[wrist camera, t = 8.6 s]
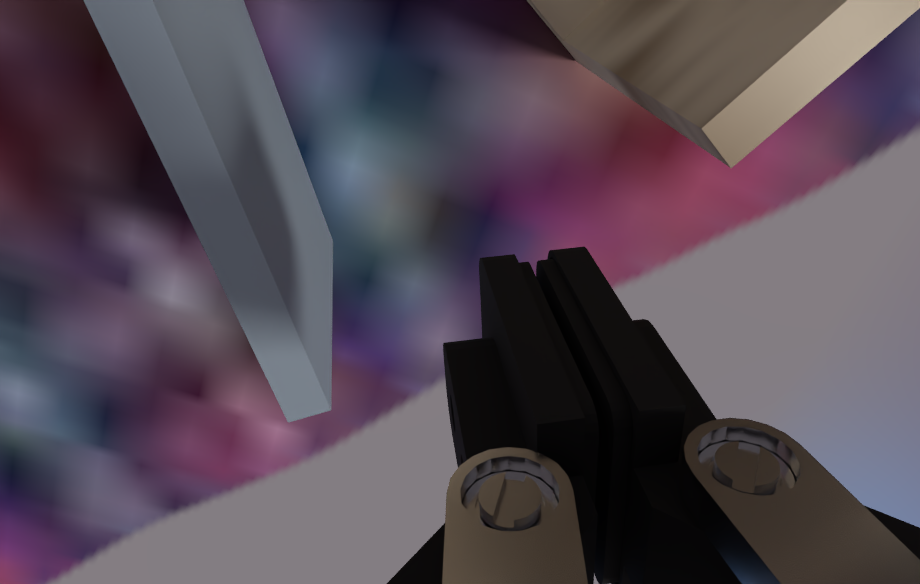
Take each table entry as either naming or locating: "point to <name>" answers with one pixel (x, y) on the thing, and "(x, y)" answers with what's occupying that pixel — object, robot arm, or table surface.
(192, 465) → the table surface
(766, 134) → the tan open box
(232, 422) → the table surface
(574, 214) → the table surface
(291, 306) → the door
